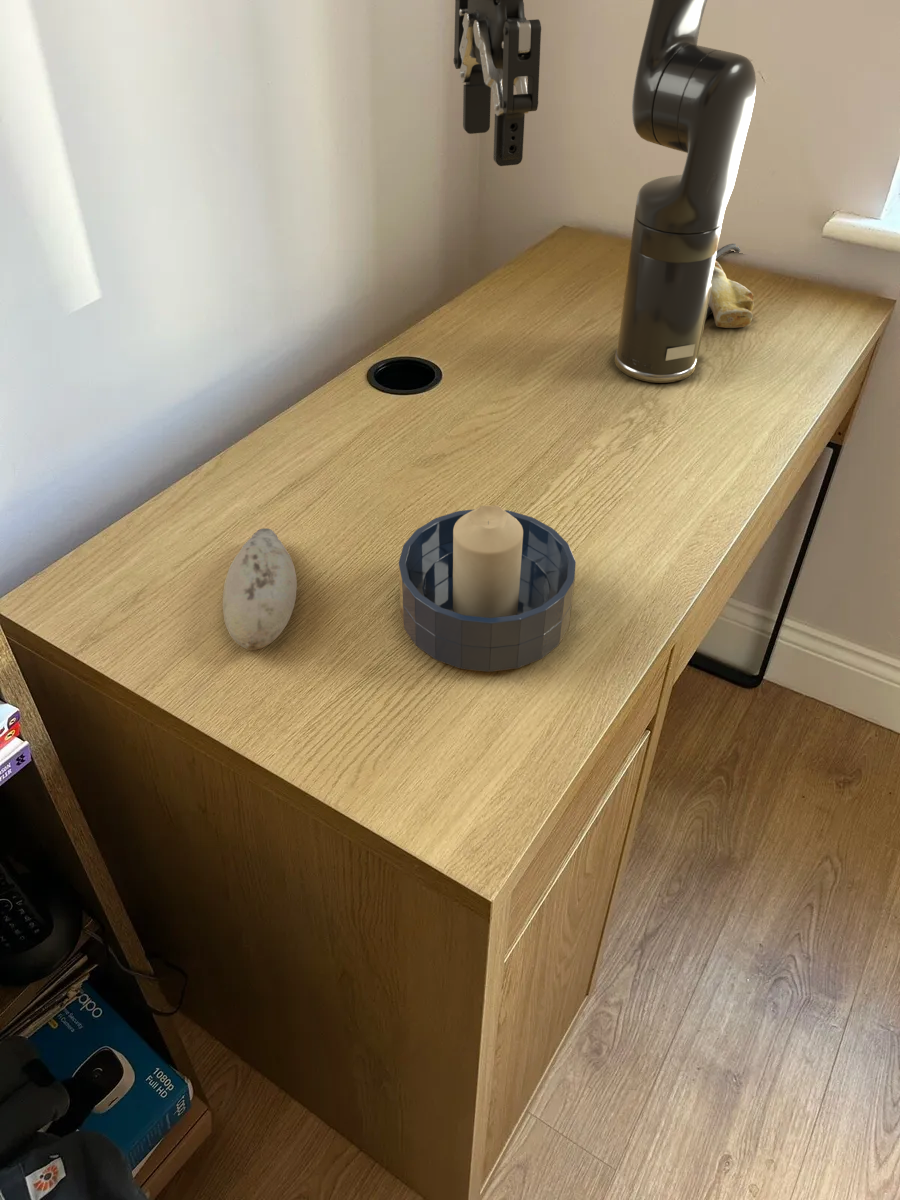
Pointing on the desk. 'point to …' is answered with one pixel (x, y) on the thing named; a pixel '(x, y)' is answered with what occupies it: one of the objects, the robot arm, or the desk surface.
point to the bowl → (482, 637)
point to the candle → (487, 563)
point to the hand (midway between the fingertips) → (491, 147)
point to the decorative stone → (259, 591)
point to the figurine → (729, 301)
